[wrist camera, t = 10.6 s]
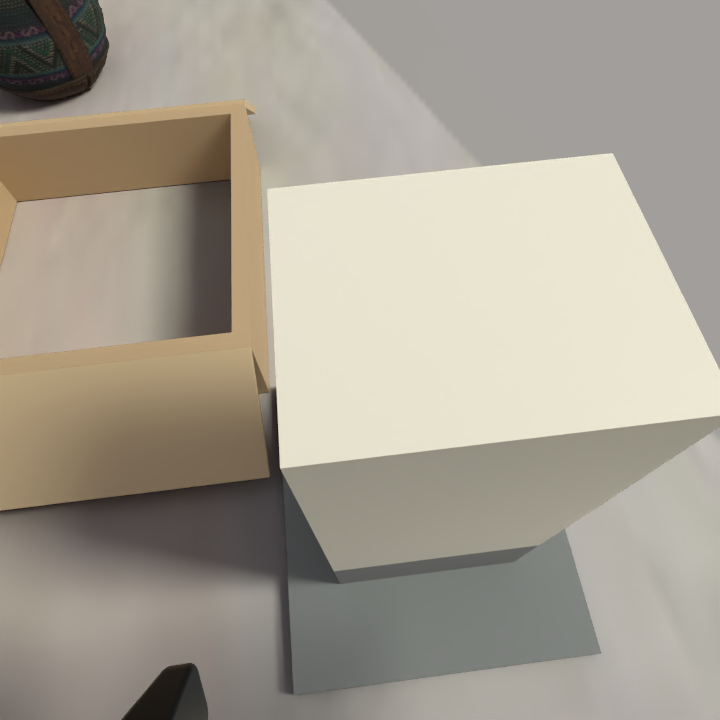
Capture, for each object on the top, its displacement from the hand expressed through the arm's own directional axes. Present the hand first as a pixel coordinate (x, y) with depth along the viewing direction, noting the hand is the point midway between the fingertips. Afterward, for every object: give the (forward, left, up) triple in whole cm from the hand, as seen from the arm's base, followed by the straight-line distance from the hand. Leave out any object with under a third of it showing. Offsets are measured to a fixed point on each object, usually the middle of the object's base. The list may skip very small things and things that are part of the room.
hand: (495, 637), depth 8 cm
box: (+4, 0, -9) cm, 10 cm away
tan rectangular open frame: (+15, +11, -9) cm, 21 cm away
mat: (+4, 0, -9) cm, 10 cm away
